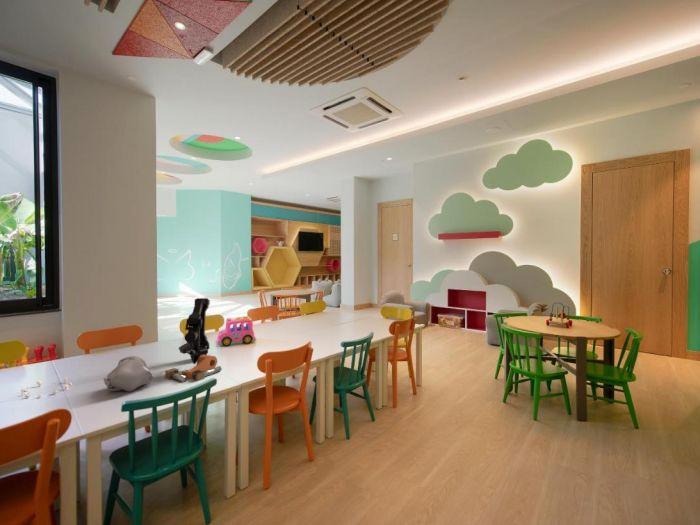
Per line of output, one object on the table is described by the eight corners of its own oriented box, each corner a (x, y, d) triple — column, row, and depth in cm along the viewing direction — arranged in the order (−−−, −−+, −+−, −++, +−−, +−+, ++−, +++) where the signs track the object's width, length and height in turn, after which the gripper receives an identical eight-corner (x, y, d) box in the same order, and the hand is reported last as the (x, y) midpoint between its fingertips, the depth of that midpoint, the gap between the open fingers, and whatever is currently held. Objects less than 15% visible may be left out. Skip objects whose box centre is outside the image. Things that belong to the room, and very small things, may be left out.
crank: (206, 365, 201) (206, 352, 201) (217, 367, 198) (217, 354, 198) (180, 377, 182) (180, 363, 182) (191, 379, 179) (191, 365, 179)
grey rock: (104, 402, 154) (106, 373, 152) (101, 383, 167) (103, 356, 165) (152, 393, 168) (155, 366, 165) (147, 376, 180) (149, 351, 178)
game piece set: (19, 390, 163) (19, 383, 163) (71, 379, 177) (71, 372, 177) (18, 404, 150) (18, 396, 149) (75, 391, 164) (74, 383, 163)
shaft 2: (197, 381, 177) (197, 373, 177) (192, 379, 179) (191, 372, 179) (222, 371, 190) (222, 365, 190) (217, 370, 193) (217, 363, 193)
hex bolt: (165, 377, 181) (165, 370, 181) (174, 374, 185) (174, 367, 185) (179, 383, 173) (179, 376, 173) (188, 380, 178) (188, 373, 178)
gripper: (172, 338, 190) (172, 364, 191) (190, 343, 180) (190, 371, 181) (190, 334, 200) (190, 359, 200) (208, 339, 190) (208, 365, 190)
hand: (194, 363), depth 193 cm, fingers closed
